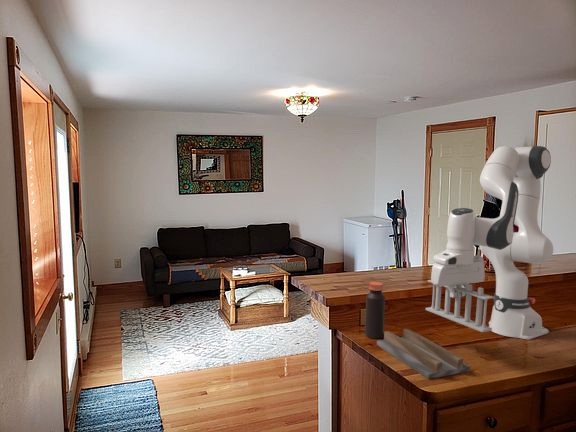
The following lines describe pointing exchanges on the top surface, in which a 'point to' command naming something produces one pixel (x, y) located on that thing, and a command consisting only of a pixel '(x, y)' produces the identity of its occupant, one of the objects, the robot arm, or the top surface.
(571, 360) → the top surface
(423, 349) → the cradle
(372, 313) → the bottle
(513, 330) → the robot arm
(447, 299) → the test tube rack
